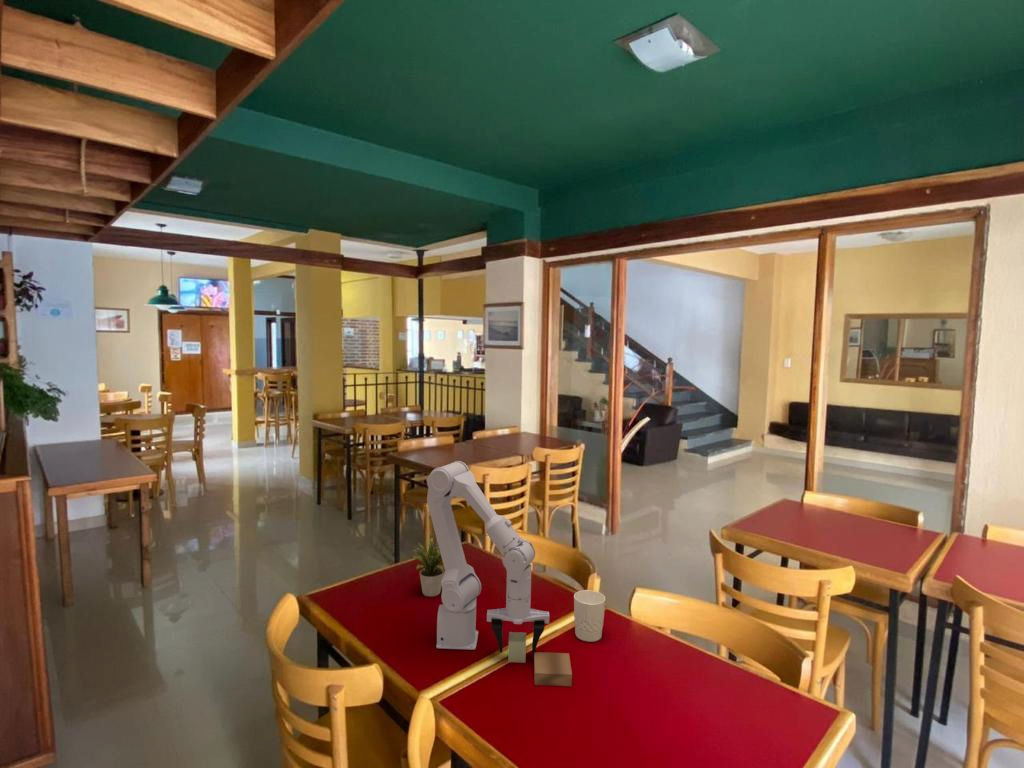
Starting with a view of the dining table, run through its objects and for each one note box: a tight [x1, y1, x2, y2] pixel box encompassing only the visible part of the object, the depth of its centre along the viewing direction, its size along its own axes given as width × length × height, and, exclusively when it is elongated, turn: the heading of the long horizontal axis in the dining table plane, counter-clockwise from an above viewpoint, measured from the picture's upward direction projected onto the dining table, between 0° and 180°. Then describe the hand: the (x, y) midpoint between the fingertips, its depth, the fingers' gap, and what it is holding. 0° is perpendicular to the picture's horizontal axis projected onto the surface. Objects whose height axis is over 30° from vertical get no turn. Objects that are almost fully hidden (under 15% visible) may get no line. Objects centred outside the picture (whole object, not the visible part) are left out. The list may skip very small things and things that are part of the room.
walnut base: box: [533, 651, 573, 687], centre depth 119 cm, size 8×8×3 cm
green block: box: [507, 631, 527, 664], centre depth 125 cm, size 4×4×5 cm
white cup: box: [573, 589, 606, 643], centre depth 135 cm, size 8×8×10 cm
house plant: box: [412, 536, 445, 597], centre depth 155 cm, size 14×14×16 cm
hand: (517, 650), depth 125 cm, fingers open, 7 cm apart
